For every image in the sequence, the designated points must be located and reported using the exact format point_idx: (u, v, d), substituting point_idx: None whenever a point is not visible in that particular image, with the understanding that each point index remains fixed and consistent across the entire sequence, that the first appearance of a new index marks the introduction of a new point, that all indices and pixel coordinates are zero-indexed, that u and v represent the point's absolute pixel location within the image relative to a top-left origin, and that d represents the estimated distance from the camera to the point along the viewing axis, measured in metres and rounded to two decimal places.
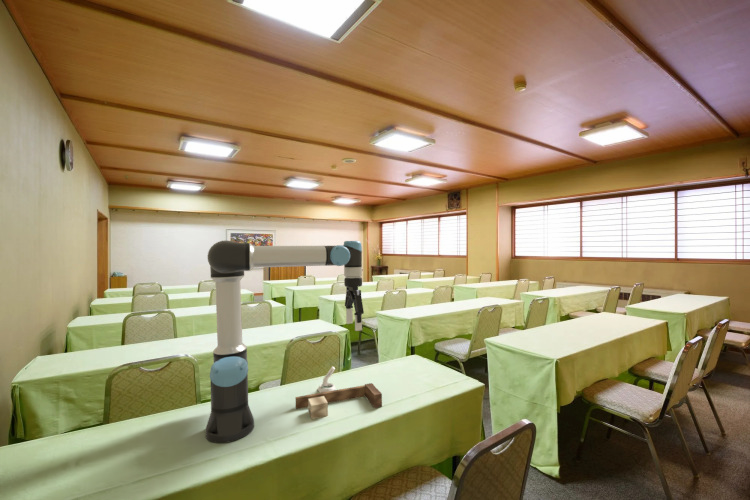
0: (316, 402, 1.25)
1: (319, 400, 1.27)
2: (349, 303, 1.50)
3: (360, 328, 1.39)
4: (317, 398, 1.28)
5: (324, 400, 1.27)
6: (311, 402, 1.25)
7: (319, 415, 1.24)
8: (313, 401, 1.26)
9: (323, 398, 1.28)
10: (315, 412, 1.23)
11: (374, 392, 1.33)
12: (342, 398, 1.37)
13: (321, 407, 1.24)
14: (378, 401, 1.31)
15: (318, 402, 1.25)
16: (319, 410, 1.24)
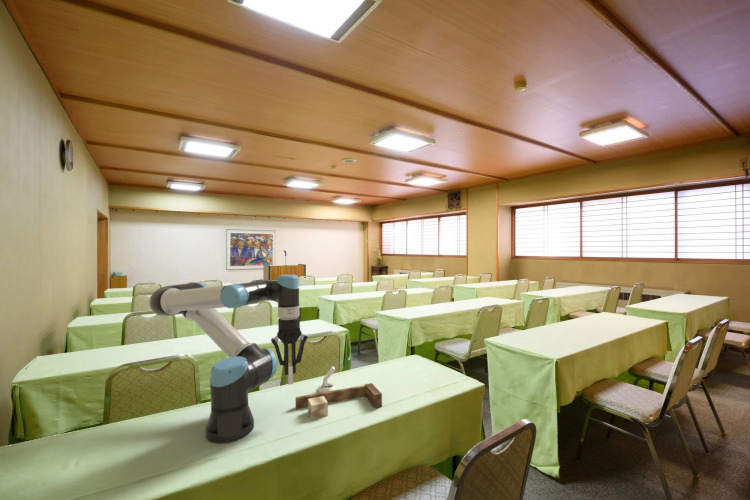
0: (316, 402, 1.25)
1: (319, 400, 1.27)
2: (291, 354, 1.23)
3: (288, 381, 1.22)
4: (317, 398, 1.28)
5: (324, 400, 1.27)
6: (311, 402, 1.25)
7: (319, 415, 1.24)
8: (313, 401, 1.26)
9: (323, 398, 1.28)
10: (315, 412, 1.23)
11: (374, 392, 1.33)
12: (342, 398, 1.37)
13: (321, 407, 1.24)
14: (378, 401, 1.31)
15: (318, 402, 1.25)
16: (319, 410, 1.24)
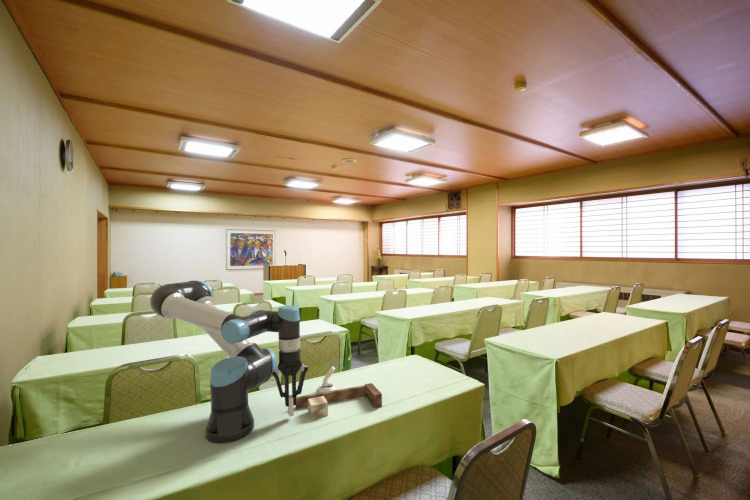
0: (316, 402, 1.25)
1: (319, 400, 1.27)
2: (292, 385, 1.24)
3: (289, 413, 1.22)
4: (317, 398, 1.28)
5: (324, 400, 1.27)
6: (311, 402, 1.25)
7: (319, 415, 1.24)
8: (313, 401, 1.26)
9: (323, 398, 1.28)
10: (315, 412, 1.23)
11: (374, 392, 1.33)
12: (342, 398, 1.37)
13: (321, 407, 1.24)
14: (378, 401, 1.31)
15: (318, 402, 1.25)
16: (319, 410, 1.24)
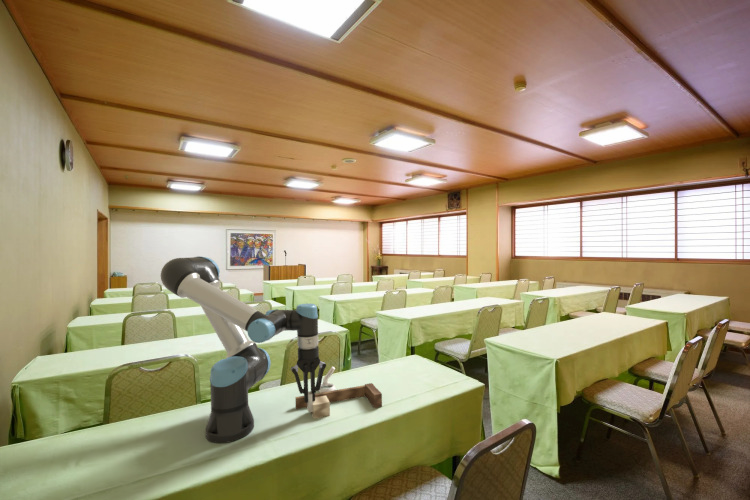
0: (318, 402, 1.25)
1: (321, 399, 1.27)
2: None
3: (308, 409, 1.24)
4: (320, 398, 1.28)
5: (326, 400, 1.27)
6: (313, 401, 1.25)
7: (321, 414, 1.24)
8: (315, 400, 1.27)
9: (325, 398, 1.29)
10: (317, 411, 1.24)
11: (374, 392, 1.33)
12: (342, 398, 1.37)
13: (323, 406, 1.24)
14: (378, 401, 1.31)
15: (320, 402, 1.25)
16: (321, 410, 1.24)
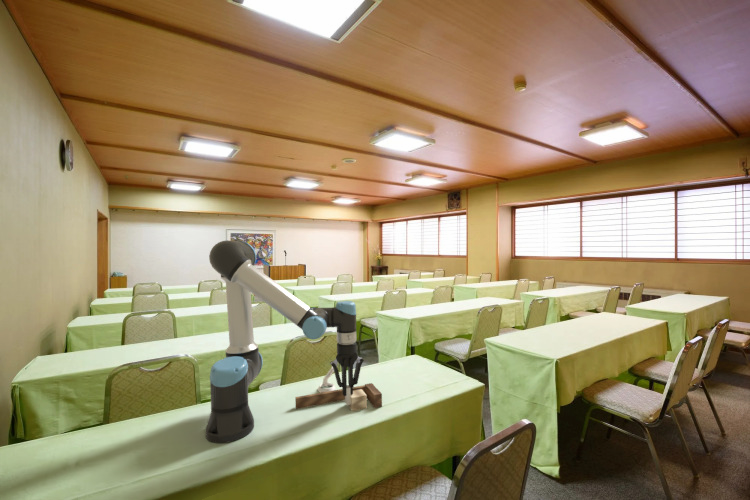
0: (356, 395, 1.31)
1: (358, 392, 1.33)
2: (348, 376, 1.31)
3: (346, 402, 1.30)
4: (356, 391, 1.34)
5: (363, 393, 1.32)
6: (351, 395, 1.31)
7: (359, 407, 1.29)
8: None
9: (361, 391, 1.34)
10: (355, 404, 1.29)
11: (374, 392, 1.33)
12: (342, 398, 1.37)
13: (361, 399, 1.30)
14: (378, 401, 1.31)
15: (358, 395, 1.31)
16: (358, 403, 1.29)
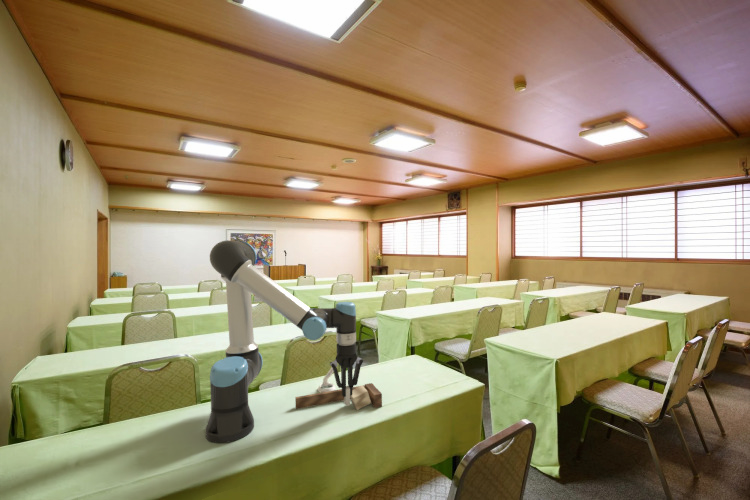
0: (357, 393, 1.31)
1: (359, 390, 1.33)
2: (348, 376, 1.31)
3: (345, 403, 1.30)
4: (357, 389, 1.34)
5: (364, 389, 1.32)
6: (352, 394, 1.31)
7: (363, 404, 1.30)
8: (353, 393, 1.32)
9: (362, 387, 1.34)
10: (358, 402, 1.29)
11: (374, 392, 1.33)
12: (342, 398, 1.37)
13: (363, 396, 1.30)
14: (378, 401, 1.31)
15: (359, 393, 1.31)
16: (361, 400, 1.30)
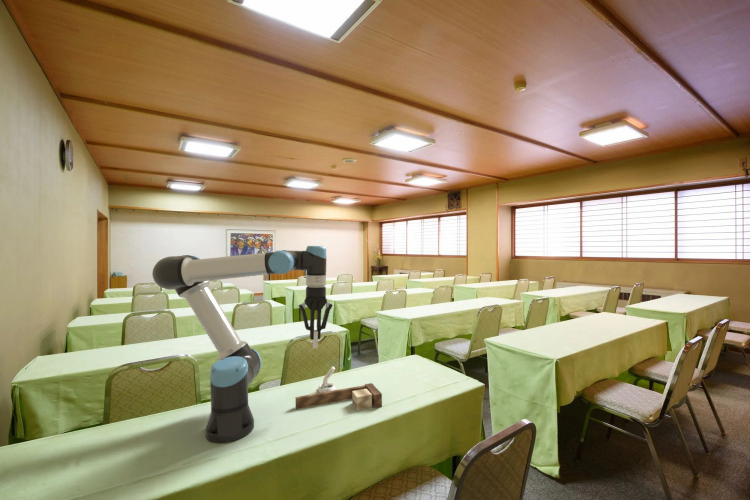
0: (361, 394, 1.31)
1: (363, 392, 1.33)
2: (317, 320, 1.31)
3: (313, 346, 1.30)
4: (361, 391, 1.34)
5: (368, 392, 1.33)
6: (356, 394, 1.32)
7: (364, 406, 1.30)
8: (357, 393, 1.33)
9: (366, 390, 1.35)
10: (360, 403, 1.30)
11: (374, 392, 1.33)
12: (342, 398, 1.37)
13: (366, 399, 1.30)
14: (378, 401, 1.31)
15: (363, 394, 1.31)
16: (364, 402, 1.30)
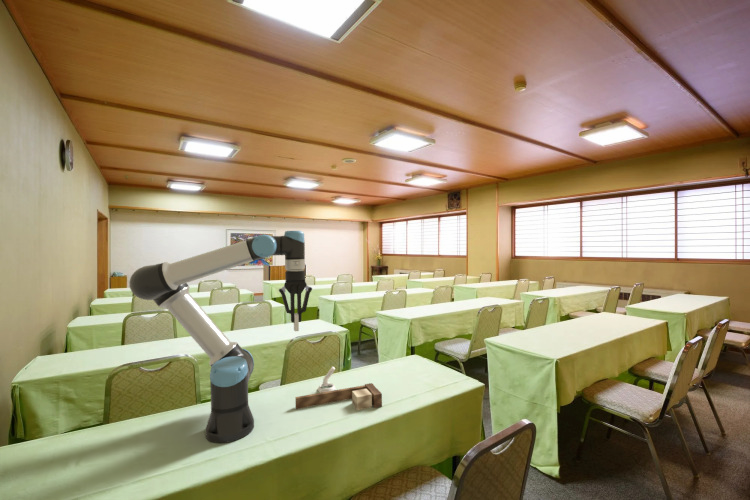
0: (361, 394, 1.31)
1: (363, 392, 1.33)
2: (297, 304, 1.34)
3: (294, 328, 1.33)
4: (361, 391, 1.34)
5: (368, 392, 1.33)
6: (356, 394, 1.32)
7: (364, 406, 1.30)
8: (357, 393, 1.33)
9: (366, 390, 1.35)
10: (360, 403, 1.30)
11: (374, 392, 1.33)
12: (342, 398, 1.37)
13: (366, 398, 1.30)
14: (378, 401, 1.31)
15: (363, 394, 1.31)
16: (364, 402, 1.30)
